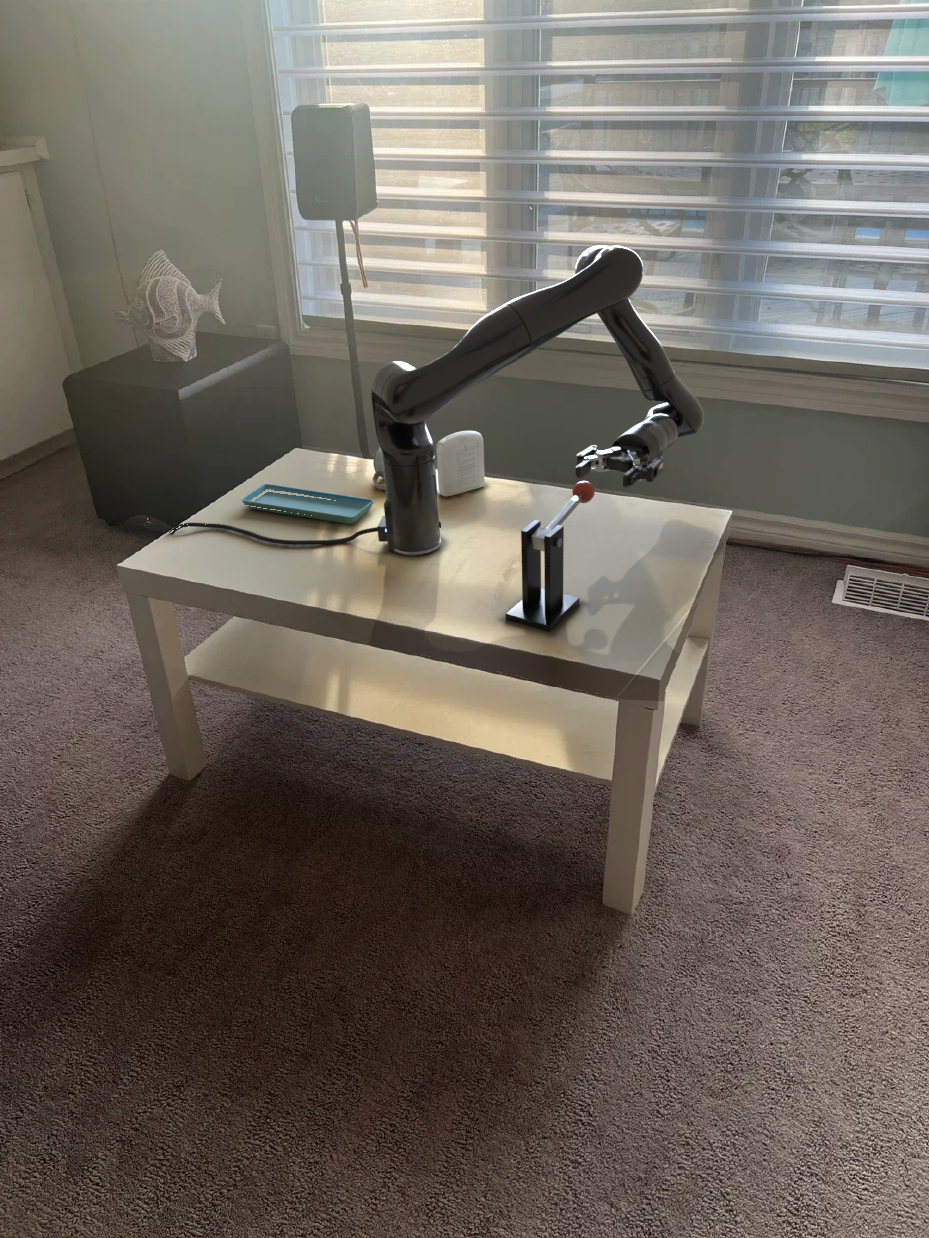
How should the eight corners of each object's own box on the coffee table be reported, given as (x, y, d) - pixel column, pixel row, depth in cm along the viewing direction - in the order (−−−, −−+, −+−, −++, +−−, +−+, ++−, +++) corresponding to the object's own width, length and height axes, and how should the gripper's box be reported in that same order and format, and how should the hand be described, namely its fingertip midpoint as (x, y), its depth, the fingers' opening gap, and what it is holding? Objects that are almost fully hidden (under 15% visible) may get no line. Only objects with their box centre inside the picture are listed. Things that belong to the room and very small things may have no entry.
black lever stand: (536, 592, 152) (535, 511, 145) (579, 604, 148) (581, 520, 141) (505, 620, 145) (502, 535, 138) (550, 632, 141) (550, 546, 134)
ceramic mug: (391, 470, 202) (387, 437, 198) (423, 475, 199) (420, 441, 195) (364, 488, 195) (360, 454, 190) (396, 494, 191) (393, 459, 187)
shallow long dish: (376, 508, 185) (374, 497, 184) (354, 527, 178) (352, 515, 176) (267, 493, 194) (265, 483, 193) (241, 511, 187) (239, 499, 186)
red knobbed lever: (579, 493, 152) (577, 475, 149) (598, 497, 150) (597, 478, 148) (528, 551, 141) (526, 531, 139) (549, 556, 139) (547, 536, 137)
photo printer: (476, 480, 195) (474, 424, 189) (488, 486, 192) (486, 429, 185) (435, 493, 190) (431, 435, 184) (446, 499, 187) (443, 441, 181)
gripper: (605, 421, 166) (563, 449, 155) (680, 432, 159) (642, 463, 148) (603, 460, 170) (563, 491, 159) (676, 473, 163) (639, 506, 152)
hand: (601, 477), depth 153 cm, fingers open, 8 cm apart
